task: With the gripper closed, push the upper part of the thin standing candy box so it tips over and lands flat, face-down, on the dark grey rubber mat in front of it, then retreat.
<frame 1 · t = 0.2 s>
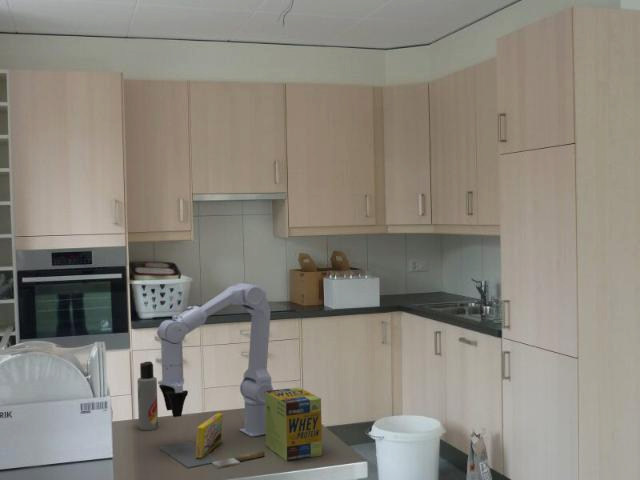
hand: (173, 413, 218), 10 cm above the countertop, tool pointing down, fingers open, 7 cm apart
mat: (188, 454, 213), on the countertop
turner: (239, 461, 207), on the countertop
candy box: (209, 450, 216), on the countertop, touching mat
lotion bottle: (148, 428, 239), on the countertop
protein box: (293, 451, 215), on the countertop
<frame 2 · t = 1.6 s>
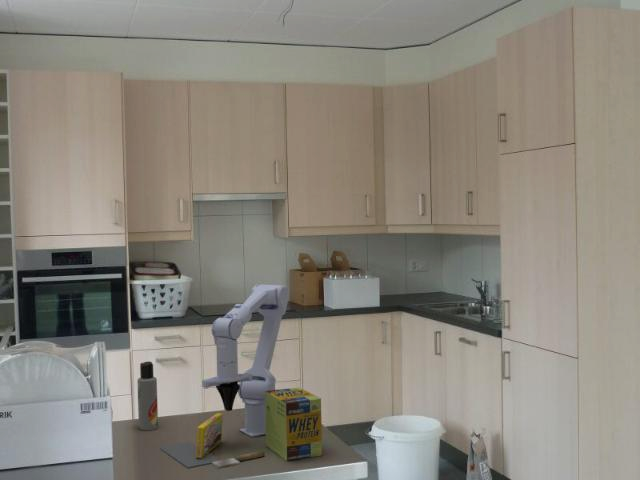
hand: (228, 410, 219), 10 cm above the countertop, tool pointing down, fingers closed
nothing on the countertop moved.
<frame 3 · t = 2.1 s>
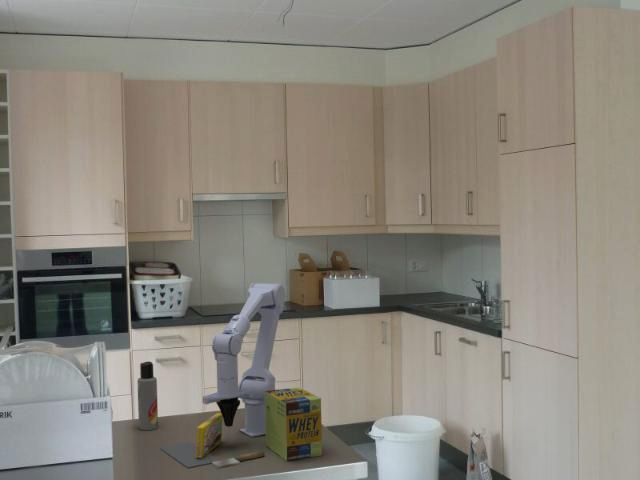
hand: (228, 425, 219), 6 cm above the countertop, tool pointing down, fingers closed
nothing on the countertop moved.
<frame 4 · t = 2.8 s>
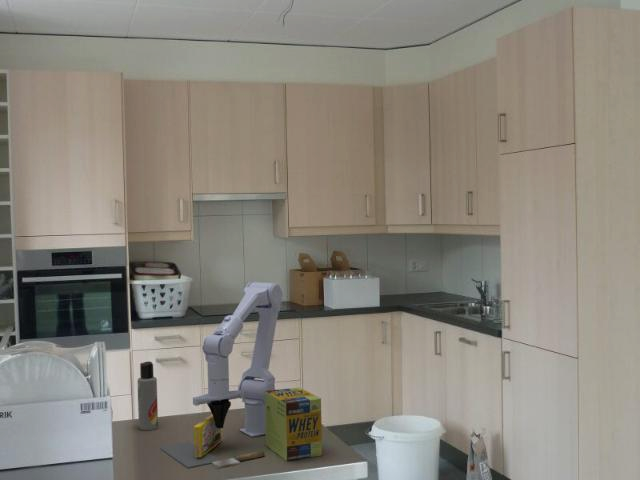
hand: (219, 427, 217), 6 cm above the countertop, tool pointing down, fingers closed
candy box: (209, 450, 216), on the countertop, touching gripper, mat
everything else where it was.
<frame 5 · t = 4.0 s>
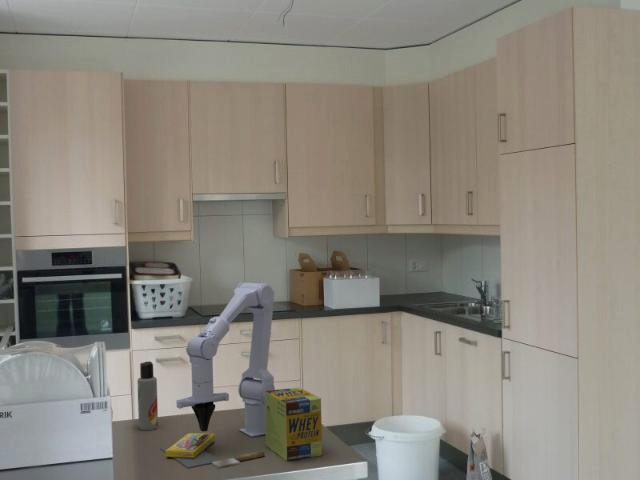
hand: (203, 430, 215), 6 cm above the countertop, tool pointing down, fingers closed
candy box: (205, 445, 216), point 2 cm above the countertop, touching mat
everything else where it was.
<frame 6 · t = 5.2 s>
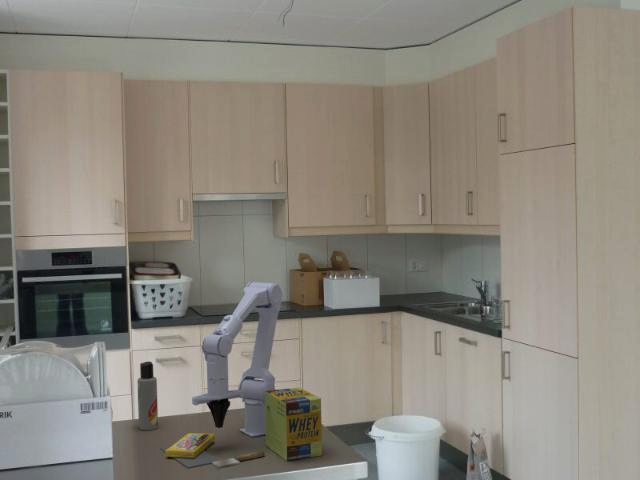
hand: (218, 426, 217), 6 cm above the countertop, tool pointing down, fingers closed
nothing on the countertop moved.
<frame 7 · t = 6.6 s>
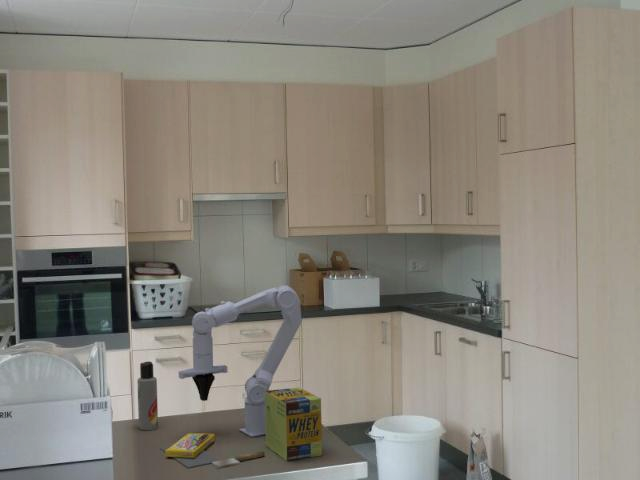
hand: (203, 399, 230), 10 cm above the countertop, tool pointing down, fingers closed
nothing on the countertop moved.
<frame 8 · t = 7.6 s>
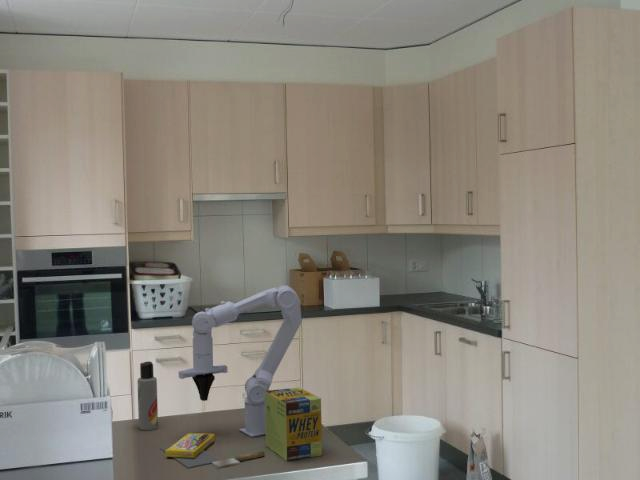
hand: (203, 399, 230), 10 cm above the countertop, tool pointing down, fingers closed
nothing on the countertop moved.
at the end: candy box tilted 93°; candy box inside the target area (4.4 cm from its centre), point 1.5 cm above the countertop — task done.
